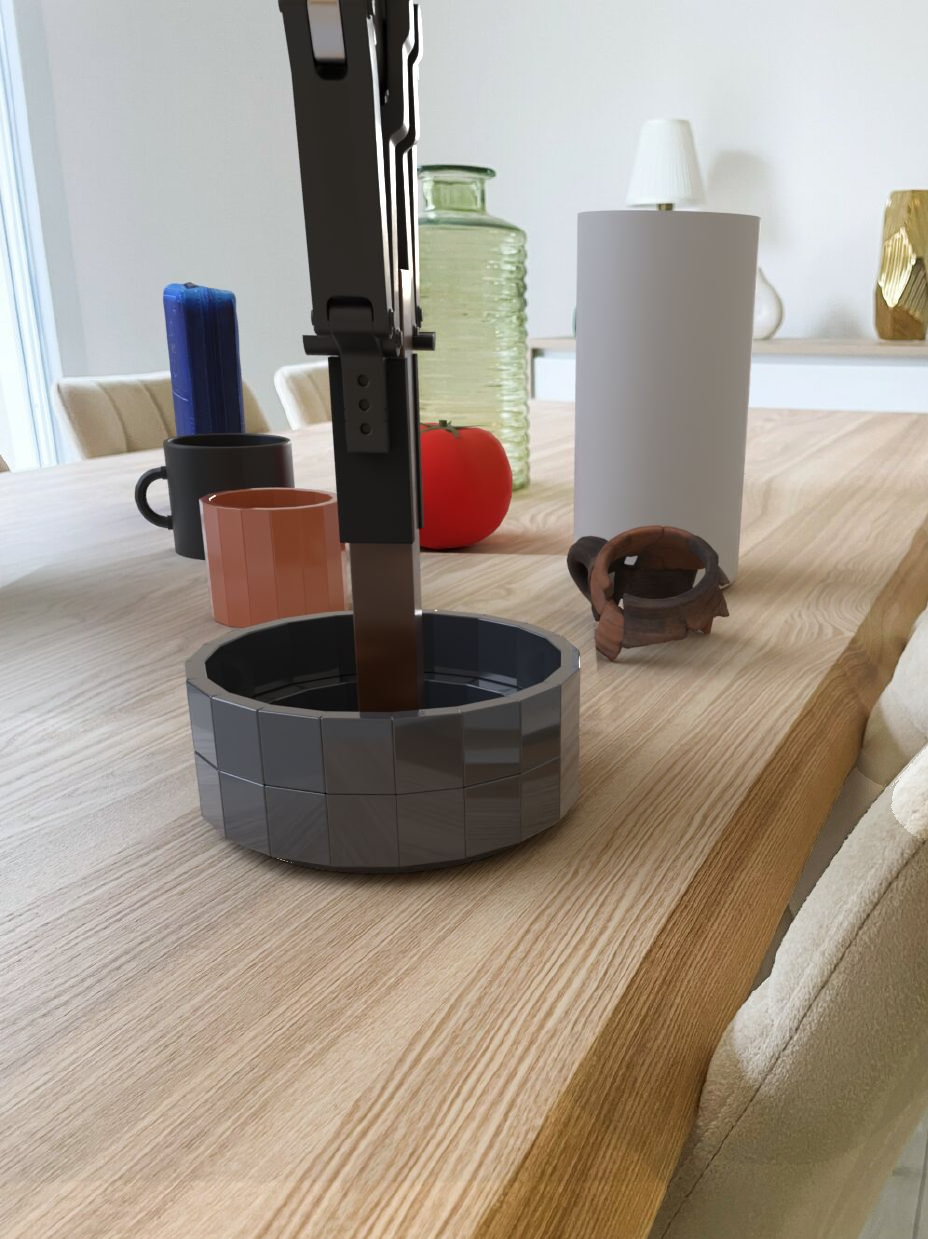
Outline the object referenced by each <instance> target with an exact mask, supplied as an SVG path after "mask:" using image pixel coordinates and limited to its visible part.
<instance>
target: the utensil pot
mask: <svg viewBox="0 0 928 1239" xmlns="http://www.w3.org/2000/svg"><path fill="white" fill-rule="evenodd" d="M199 504H200V513H201V522H202V532H203V541H204V550H205V560H204V561H205V569H206V579H207V588H208V597H209V605H210V614H211V616H212V619H213V620H214V621H215V622H216V623H218V624H220V625H223V626H226V627H229V628H234V629H242V628H246V627H250V626H254V625H258V624H262V623H266V622H270V621H274V620H278V619H282V618H289V617H296V616H303V615H310V614H317V613H324V612H336V611H350V604H349V603H350V602H349V587H348V584H349V583H348V568H347V554H346V552H347V551H346V543H340V538H339V522H338V507H337V492H332V491H326V490H323V489H313V488H301V487H295V488H250V489H239V490H229V491H222V492H217V493H212V494H208V495H206V496H204V497H202V498H200V499H199Z"/></svg>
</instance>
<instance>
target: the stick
mask: <svg viewBox="0 0 928 1239" xmlns="http://www.w3.org/2000/svg"><path fill="white" fill-rule="evenodd" d="M398 288H399V323H400V331H402V333H403V346H401V348H400V354H399V357H402V358H407V360H408V384H409V409H410V433H411V457H412V481H413V505H414V529H415V541H414V543H413V544H379V543H348V550H349V566H350V568H349V569H350V584H351V585H350V586H351V601H352V602H351V603H352V611H353V621H354V639H355V656H356V673H357V690H358V707H359V712H400V711H411V710H423V709H425V687H424V658H423V630H422V609H423V608H422V606H423V605H422V604H423V603H422V580H421V579H422V578H421V575H422V574H421V550H420V549H421V548H420V547H421V546H419V517H418V489H417V461H416V433H415V405H414V376H413V353H414V350H413V348H412V320H411V292H410V272H409V270H404V269H398Z"/></svg>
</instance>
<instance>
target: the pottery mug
mask: <svg viewBox="0 0 928 1239" xmlns="http://www.w3.org/2000/svg"><path fill="white" fill-rule="evenodd" d="M634 556H637V559H636V561H635V563H634V565H631V564H630V565H628V564H625V560H626V557H634ZM718 563H719V556H718V554H717V553H716V551H715V550H714V549H713V548H712V547H711V546H710V545H709V544H708V543H707V542H706V541H705V540H704V539H702V538H701V537H699V536H697V535H693V534H692V533H690V532H688V531H686V530H683V529H679V528H676V527H670V526H664V527H662V526H660V525H652V526H643V527H637V528H633V529H630V530H628V531H625V532H623V533H620V534H618V535H617V536H615V537H613V538H612V539H610V540H609V541H607V540H606V539H604V538H600V537H596V536H584V537H581V538H580V539H578V540H577V542H576V543H574V544H571V546H569V549H568V552H567V555H566V566H567V569H568V572H569V575H570V578H571V579H572V582H574V584H575V586H577V589H578V590H579V591H580V593H581V594H582V595H583V597H584V598H585V599H586V600H587V601H588V602H589V603H590V610H591V613H592V617H593V619H594V621H595V622H598V624H597V628H596V633H595V634H594V637H593V639H594V642H595V649H596V650H597V651H598V652H599V653H600V654H602V656H605V657H606V658H607V659H608V660H610V661H611V662H614V661H616V659H617V658H618V656H619V655H620V653H621V652H622V649H626V650H629V649H635V648H641V647H648V646H652V645H659V644H664V643H669V642H673V641H682V640H684V639H686V638H687V637H688V634H689V633H688V632H689V631H691V632H694V633H695V632H698V631H700V632H702V633H703V634H704V635H710V634H711V632H712V628H713V623H714V619H715V618H717V617H721V618H728V617H729V616H730V612H729V609H728V604H727V601H726V598H725V595H724V593H723V591H722V589H720V587H719V585H720V586H724V585H726V584H730V581H729V579H728V577H727V576H726V574H725V573H724V572H723V570H722V569H721V568H720V567H719V566H718ZM704 568H705V575H704V576H703V578H702V579H701V580H700V581H699V583H698V584H697V585H696V586H695V587H693V584H694V582H695V578H696V575H697V572H698V569H699V570H700V569H704ZM730 585H731V584H730ZM621 600H622V607H621V606H620V602H621Z"/></svg>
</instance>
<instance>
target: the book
mask: <svg viewBox="0 0 928 1239" xmlns="http://www.w3.org/2000/svg"><path fill="white" fill-rule="evenodd" d="M162 302H163V304H162V305H163V311H164V321H165V322H164V323H165V332H166V342H167V344H166V345H167V351H168V359H169V361H168V362H169V373H170V383H171V394H172V401H173V409H174V412H173V413H174V423H175V431H176V432H175V433H176V437H177V436H184V435H194V434H212V433H246V432H247V431H246V421H245V420H246V419H245V404H244V403H245V402H244V389H243V388H244V387H243V377H242V365H241V364H242V363H241V354H240V353H241V350H240V330H239V320H238V314H237V297H236V294H235V293H234V292H233V291H232V290H227V289H219V288H216V287H215V288H214V287H213V288H212V287H207V286H206V285H205V286H204V285H199V284H195V283H193V282H191V281H187V282H185V283H177V282H174V283H169V284H167V285H166V286H165V287H164V289H163V293H162Z"/></svg>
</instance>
